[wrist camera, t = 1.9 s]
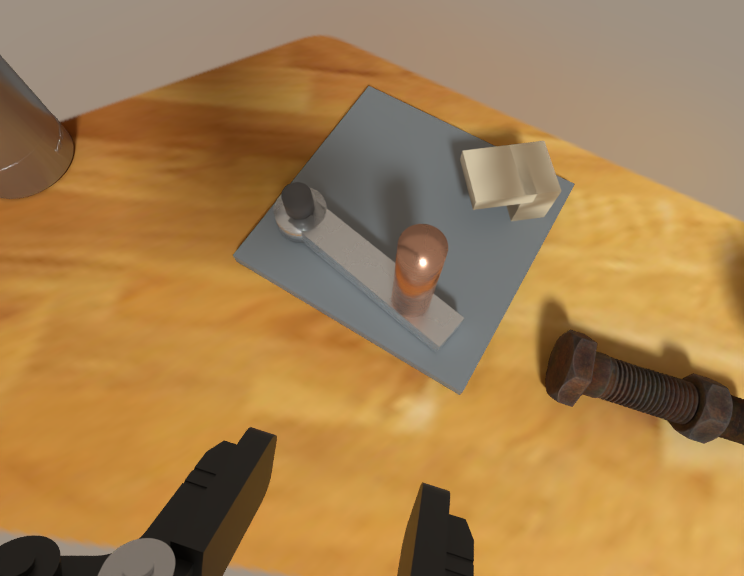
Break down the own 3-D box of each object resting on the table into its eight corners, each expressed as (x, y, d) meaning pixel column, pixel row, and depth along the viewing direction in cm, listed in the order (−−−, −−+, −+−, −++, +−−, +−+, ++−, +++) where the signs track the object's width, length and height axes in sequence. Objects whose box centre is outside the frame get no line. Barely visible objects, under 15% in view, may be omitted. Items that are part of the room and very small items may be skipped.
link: (267, 222, 41) (232, 138, 31) (303, 190, 42) (281, 99, 32) (430, 360, 36) (453, 315, 26) (464, 319, 38) (499, 261, 27)
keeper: (466, 227, 41) (476, 202, 37) (454, 179, 43) (462, 150, 39) (544, 217, 41) (561, 191, 38) (529, 170, 43) (544, 140, 39)
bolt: (722, 440, 38) (538, 381, 39) (748, 382, 37) (559, 324, 38) (774, 478, 32) (557, 407, 33) (806, 411, 31) (582, 341, 32)
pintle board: (459, 394, 37) (474, 381, 32) (236, 261, 41) (217, 230, 36) (569, 191, 44) (596, 153, 39) (368, 94, 48) (368, 48, 43)
